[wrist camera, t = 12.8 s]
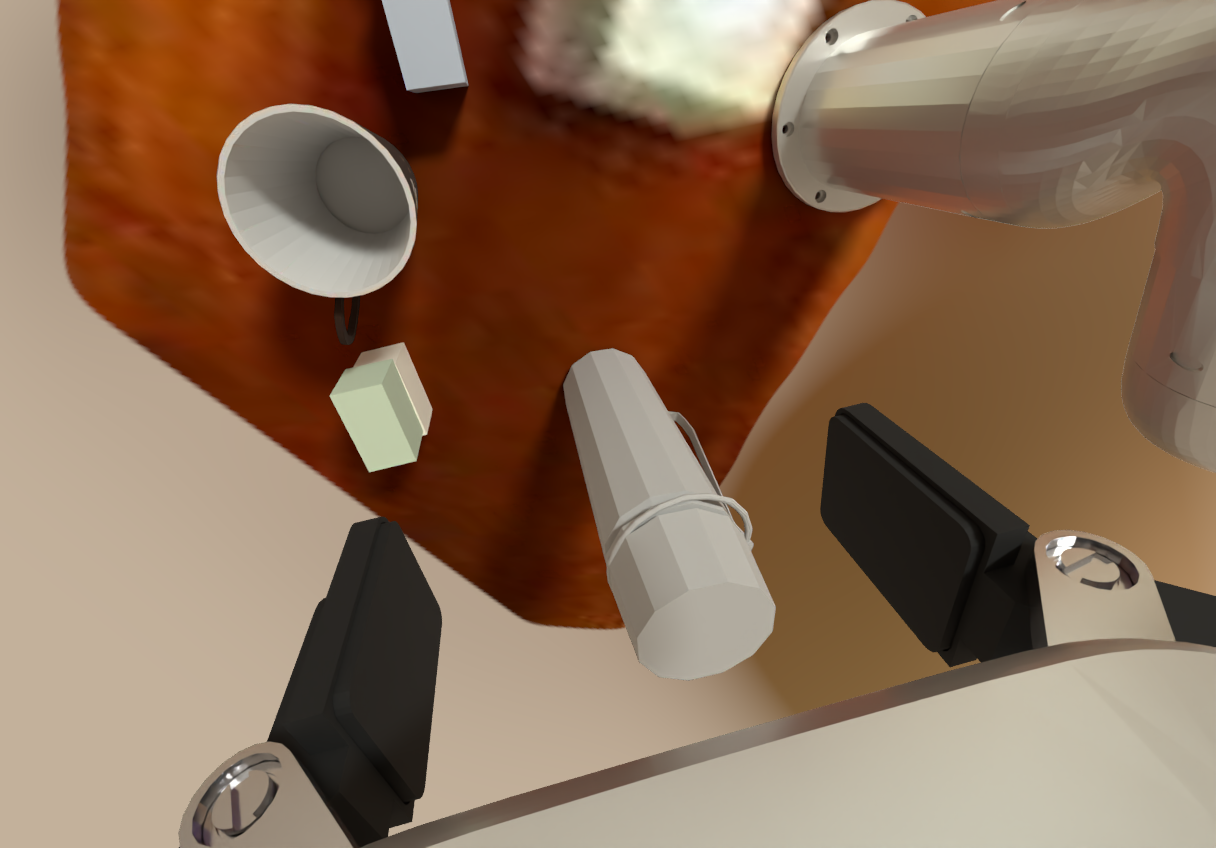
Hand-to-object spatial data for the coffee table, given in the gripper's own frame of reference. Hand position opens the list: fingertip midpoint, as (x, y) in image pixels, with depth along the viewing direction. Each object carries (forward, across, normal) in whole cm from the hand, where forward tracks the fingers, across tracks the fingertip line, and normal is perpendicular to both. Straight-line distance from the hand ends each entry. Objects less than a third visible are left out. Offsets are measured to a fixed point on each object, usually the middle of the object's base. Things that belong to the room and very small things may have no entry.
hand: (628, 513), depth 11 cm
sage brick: (+26, +13, +8) cm, 31 cm away
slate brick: (+31, +4, -12) cm, 33 cm away
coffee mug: (+31, +11, -4) cm, 33 cm away
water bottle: (+31, -4, +13) cm, 33 cm away
